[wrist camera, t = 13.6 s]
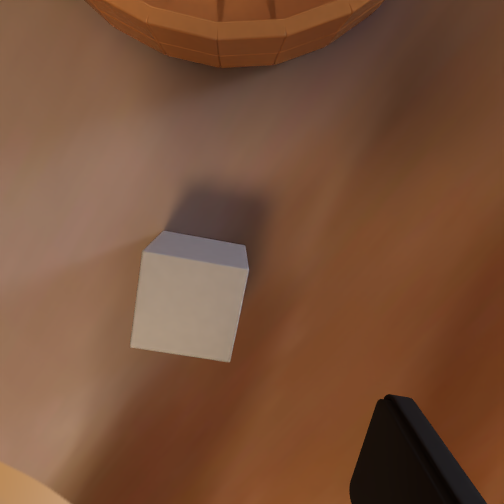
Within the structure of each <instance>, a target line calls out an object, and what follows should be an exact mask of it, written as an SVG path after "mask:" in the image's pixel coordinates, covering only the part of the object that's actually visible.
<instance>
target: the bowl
mask: <svg viewBox="0 0 504 504" xmlns="http://www.w3.org/2000/svg"><path fill="white" fill-rule="evenodd" d="M84 1H85V2H87V3H88V4H89V5H90V6H91V7H92V8H93V9H94V10H95V11H96V12H97V13H99V14H100V15H101V16H102V17H103V18H104V19H105V20H106V21H107V22H108V23H109V24H111V25H112V26H114V27H115V28H116V29H118V30H120V31H122V32H124V33H125V34H127V35H129V36H131V37H133V38H135V39H136V40H138V41H140V42H142V43H144V44H146V45H148V46H149V47H151V48H153V49H155V50H157V51H159V52H160V53H162V54H165V55H167V56H171V57H175V58H179V59H184V60H188V61H192V62H196V63H201V64H205V65H209V66H214V67H218V68H219V67H221V68H230V67H247V66H265V65H276V64H279V63H282V62H285V61H287V60H290V59H293V58H296V57H299V56H301V55H304V54H307V53H310V52H313V51H315V50H318V49H321V48H324V47H325V46H327V45H329V44H330V43H332V42H333V41H334V40H336V39H337V38H339V37H340V36H341V35H343V34H344V33H346V32H347V31H349V30H350V29H351V28H353V27H354V26H356V25H357V24H358V23H360V22H361V21H363V20H364V19H365V18H367V17H368V16H370V15H371V14H372V13H373V12H374V11H375V10H376V9H377V8H378V7H379V6H380V5H381V4H382V3H383V2H384V1H385V0H84Z"/></svg>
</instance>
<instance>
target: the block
mask: <svg viewBox="0 0 504 504" xmlns="http://www.w3.org/2000/svg"><path fill="white" fill-rule="evenodd" d="M248 273H249V267H248V260H247V253H246V247H245V245H240V244H235V243H229V242H224V241H218V240H213V239H207V238H202V237H196V236H191V235H185V234H180V233H175V232H169V231H162V232H161V233H160V234H159V235H158V236H157V237H156V238H155V239H154V240H153V241H152V242H151V243H150V244H149V245H148V246H147V247H146V248H145V249H144V250H143V251H142V256H141V264H140V272H139V279H138V287H137V295H136V302H135V310H134V318H133V325H132V333H131V341H130V347H131V348H137V349H144V350H151V351H157V352H164V353H171V354H177V355H184V356H191V357H197V358H204V359H211V360H217V361H224V362H230V360H231V355H232V350H233V346H234V341H235V336H236V331H237V326H238V321H239V317H240V312H241V307H242V302H243V297H244V292H245V287H246V283H247V278H248Z"/></svg>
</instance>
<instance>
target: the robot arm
mask: <svg viewBox="0 0 504 504" xmlns="http://www.w3.org/2000/svg"><path fill="white" fill-rule="evenodd" d="M349 490H350V499H351V503H352V504H487V503H486V502H485V500H484V499H483V498H482V496H481V495H480V493H479V492H478V490H477V489H476V488H475V486H474V485H473V483H472V482H471V481H470V479H469V478H468V476H467V475H466V474H465V472H464V471H463V469H462V468H461V466H460V465H459V464H458V462H457V461H456V459H455V458H454V457H453V455H452V454H451V452H450V451H449V450H448V448H447V447H446V445H445V444H444V442H443V441H442V440H441V438H440V437H439V435H438V434H437V433H436V431H435V430H434V428H433V427H432V426H431V424H430V423H429V421H428V420H427V418H426V417H425V416H424V414H423V413H422V411H421V410H420V409H419V407H418V406H417V404H416V403H415V402H414V400H413V399H411V398H408V397H402V396H396V395H390V394H388V395H386V396H385V397H384V399H380V400H378V402H377V404H376V407H375V410H374V413H373V416H372V419H371V422H370V425H369V428H368V431H367V434H366V437H365V440H364V443H363V446H362V449H361V452H360V455H359V458H358V461H357V464H356V467H355V470H354V473H353V476H352V479H351V482H350V489H349Z"/></svg>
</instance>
